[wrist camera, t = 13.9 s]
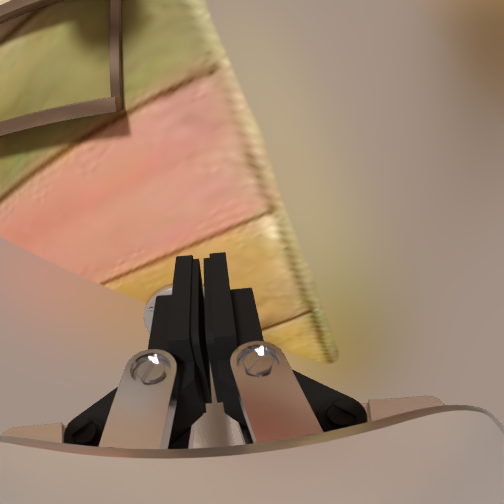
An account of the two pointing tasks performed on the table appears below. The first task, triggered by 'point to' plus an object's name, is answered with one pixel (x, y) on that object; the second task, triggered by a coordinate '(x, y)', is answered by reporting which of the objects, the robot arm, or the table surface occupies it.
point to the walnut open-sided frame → (24, 3)
